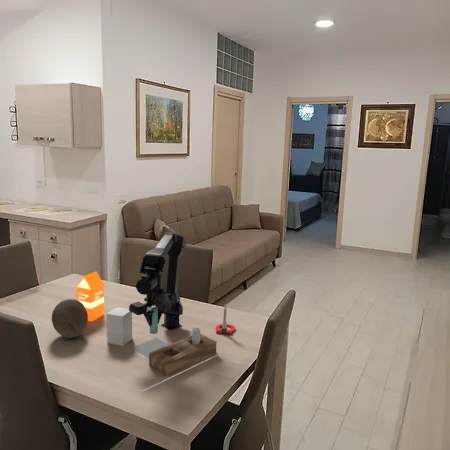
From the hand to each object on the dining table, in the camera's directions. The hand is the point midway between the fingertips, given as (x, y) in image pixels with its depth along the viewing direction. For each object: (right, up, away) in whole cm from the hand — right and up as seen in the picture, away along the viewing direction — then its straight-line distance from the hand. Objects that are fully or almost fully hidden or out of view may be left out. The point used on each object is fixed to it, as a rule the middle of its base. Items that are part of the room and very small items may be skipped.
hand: (153, 324), depth 162 cm
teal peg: (0, -3, +1) cm, 3 cm away
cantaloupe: (-35, -7, +10) cm, 37 cm away
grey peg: (+16, -11, -1) cm, 19 cm away
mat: (0, -10, +2) cm, 10 cm away
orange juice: (-33, -3, +29) cm, 44 cm away
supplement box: (-15, -8, +7) cm, 18 cm away
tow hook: (+27, -7, +21) cm, 35 cm away
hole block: (+12, -12, -5) cm, 17 cm away
